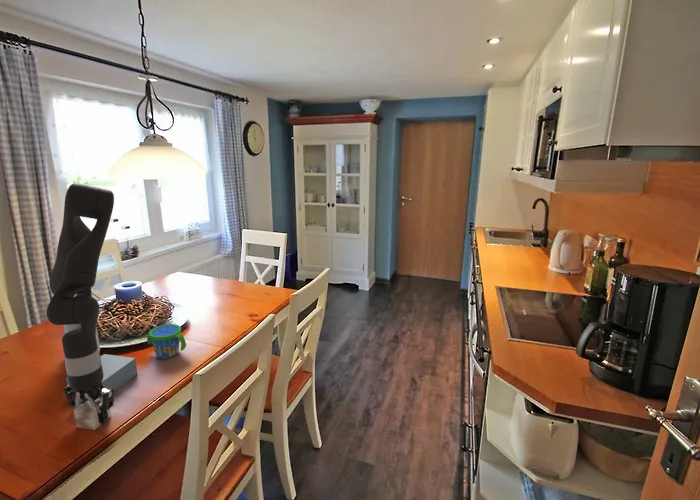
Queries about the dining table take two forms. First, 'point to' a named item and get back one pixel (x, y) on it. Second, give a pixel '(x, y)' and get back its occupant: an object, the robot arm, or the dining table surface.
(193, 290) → the dining table surface
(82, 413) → the cream cube
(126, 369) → the slate stand
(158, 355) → the snack cup
